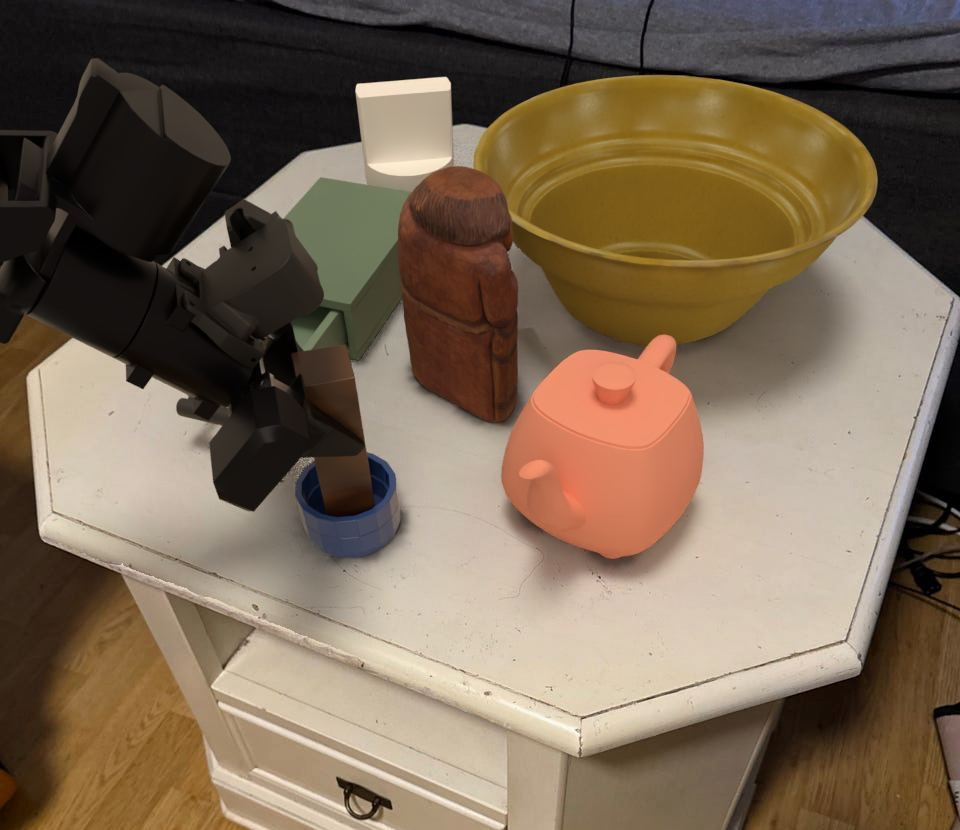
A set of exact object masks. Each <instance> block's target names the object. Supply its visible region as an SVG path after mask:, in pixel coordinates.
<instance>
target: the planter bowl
mask: <svg viewBox="0 0 960 830" xmlns="http://www.w3.org/2000/svg"><path fill="white" fill-rule="evenodd" d="M472 162H473V163H472V164H473V169H476V170H479V171H481V172H483V173H485V174H487V175H488V176H490V177H491V178H492V179H493V180H495V181H496V182H497V183H498V184H499V185H500V187H501V188H502V190H503V193H504V194H505V197H506V201H507V206H508V211H509V213H510V215H511V218H512V234H513V243H514V245H515V246H516V247H517V248H518V249H519V251H520V252H521V253H523V254H524V255H525V256H526V257H527V258H528V259H529V260H531V262H533V263H534V264H536V265H537V266H538V267H540V268H541V270H542V272H543V274H544V276H545V279H546V280H547V283H548V284H549V285H550V287H551V289H552V291H553V292H554V294H555V296H556V298H558V300H559V301H560V303H561V304H562V306H563V308H564V309H565V310H566V311H567V312H568V313H569V314H570V315H571V317H573V318H574V319H575V320H577V321H578V322H579V323H581V324H582V325H584V326H585V327H587V328H589V329H590V330H592V331H594V332H596V333H598V334H600V335H603V336H604V337H607V338H609V339H611V340H614V341H616V342H617V341H618V342H621V343H625V344H629V345H633V346H639V347H647V345H648V344H649V343H650V342H651V341H652V340H653V339H654V338H655V337H657V336H659V335H669V336H671V337H673V338H674V339H675V341H676V345H677V346H679V345H684V344H688V343H693V342H696V341H700V340H704V339H706V338H711V337H712V336H714V335H716V334H718V333H720V332H722V331H724V330H726V329H727V328H729V327H730V326H731V325H733V324H735V322H737V321H738V320H739V319H740V318H741V317H743V316H744V315H745V314H746V313H747V312H748V311H749V310H751V309H752V308H753V307H754V306H755V305H756V304H757V303H758V302H759V301H760V300H761V299H762V298H763V296H765V295H766V293H767V292H769V290H770V289H772V288H775V287H777V286H779V285H781V284H783V283H785V282H788V281H790V280H791V279H793V278H795V277H796V276H798V275H800V274H801V273H802V272H804V271H805V270H806V269H808V268H809V267H810V266H811V265H812V264H814V263H815V262H816V261H817V260H818V259H819V258H820V257H821V256H822V255H823V254H824V252H826V250H828V248H829V247H830V246H831V245H832V244H833V243H834V241H835V240H836V239H837V238H838V237H839V236H840V235H842V234H844V233H845V232H846V231H848V230H849V229H850V228H852V227H854V226H855V224H856V223H858V222H859V221H860V220H861V218H862V217H864V215H865V214H866V213H867V211H868V210H869V209H870V208H871V206H872V204H873V201H874V199H875V197H876V194H877V190H878V185H879V184H878V172H877V167H876V164H875V161H874V159H873V157H872V155H871V153H870V152H869V150H868V149H867V147H866V146H865V145H864V143H863V142H862V141H861V140H860V139H859V138H858V137H857V136H856V135H855V134H854V133H853V132H852V131H851V130H849V129H848V128H847V127H846V126H845V125H843V124H842V123H840V122H839V121H837V120H835V118H833V117H831V116H829V115H828V114H827V113H824V112H823V111H821V110H819V109H817V108H815V107H813V106H811V105H809V104H806V103H805V102H802V101H799V100H797V99H794V98H792V97H789V96H787V95H784V94H781V93H778V92H775V91H773V90H768V89H765V88H762V87H761V88H760V87H757V86H753V85H750V84H744V83H739V82H734V81H729V80H723V79H717V78H710V77H701V76H690V75H676V74H675V75H673V74H671V75H670V74H650V75H649V74H648V75H643V74H642V75H641V74H640V75H625V76H616V77H607V78H599V79H593V80H592V79H591V80H586V81H582V82H577V83H573V84H569V85H564V86H561V87H558V88H555V89H551V90H549V91H546V92H543V93H540V94H538V95H535V96H533V97H530V98H529V99H527V100H524V101H523V102H520V103H519V104H517V105H515V106H513V107H511V108H510V109H508V110H507V111H505V112H504V113H503V114H500V116H499V117H497V118H496V119H495V120H494V121H493V122H492V123H490V125H489V126H488V127H487V128H486V129H485V131H483V133H482V135H481V137H480V138H479V140H478V142H477V144H476V147H475V149H474V154H473V161H472Z"/></svg>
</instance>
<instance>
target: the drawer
mask: <svg viewBox="0 0 960 830" xmlns="http://www.w3.org/2000/svg"><path fill="white" fill-rule="evenodd" d="M292 325H293V330H294V335H295V339H296V341H297V343H298V345H299V346H300V347H301V348H302V349H303V350H304V351H307V350H314V349H320V348H326V347H332V346H338V345H344V344H346V342H347V341H348V336H347V330H346V323H345V317H344V311H342V310H337V309H332V308H327V307H322V306H319V307H318V308H317V309H316V310H314V311H313V312H312V313H310V314H308V315H307V316H302V315H301V316H299V317H297V318H296V319H294V320H292ZM187 397H188V398H185V397H180V398H179V399H178V400H177V402H176V406H175V409H176V414H177V415H179V417H184V418H188V419H191V420H196V421H201V422H203V423H204V422H205V423H209V424H214V425H217V426H221V427H222V426H223V424H224V423H225V422H226V421H227V419H228V418H229V411H228V407H226V408H224V407H222V406H220V407H219V408H218V409H217V411H216V412H215V413H214V415H213V416H212V417H211V419H210V420H209V421H208V420H206V419H204V418H201V417H199V416H197V415H195V414H193V404H192V397H191V396H189V395H187Z"/></svg>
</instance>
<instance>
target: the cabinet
mask: <svg viewBox="0 0 960 830" xmlns="http://www.w3.org/2000/svg"><path fill="white" fill-rule="evenodd" d="M411 193H412V192H408V191H402V190H396V189H390V188H384V187H377V186H371V185H367V184H366V183H365V184H364V183H358V182H352V181H346V180H341V179H334V178H328V177H322V176H320V177H319V178H318V179H317V181H316V182H314V184H313V185H312V186H311V187H310V188H309V189H308V190H307V191H306V193H304V195H303V196H302V197H301V198H300V199H299V200H298V202H297V203H295V205H294V206H293V207H292V208H291V209H290V211H288V213H287V214H286V215H285V216H284V217H282V219H288V220H290V221H291V222H292V224H293V227H294V231H295V235H296V237H297V238H298V239H299V241H300V242H301V244H302V245H303V246H304V248H305V249H306V250H307V252H308V253H309V255H310V256H311V257H312V259H313V260H314V261H315V263H316V264H317V267H318V270H317V272H318V276H319V280H320V284H321V286H322V288H323V291H324V298H323V301H322V303H321V304H320V305H319V306H322V307H327V308H332V309H337V310H342V311H344V317H345V323H346V330H347V336H348V341H347V342H346V346H347V350H348V354H349V357H350V360H354V361H360V360H361V358H362V357H363V356H364V354H365V353H366V351H367V350H368V348H369V347H370V345H371V344H372V343H373V341H374V340H375V338H376V336H377V335H378V334H379V332H380V331H381V329H382V328H383V326H384V325H385V324H386V322H387V320H388V319H389V317H390V316H391V315H392V313H393V312H394V310H395V309H396V307H397V306H398V304H399V303H400V301H401V300H402V291H401V281H400V279H401V276H400V274H399V265H398V224H399V218H400V213H401V210H402V207H403V205H404V203H405V201H406V199H407V198H408V196H409V195H410V194H411Z"/></svg>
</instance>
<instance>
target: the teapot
mask: <svg viewBox="0 0 960 830" xmlns="http://www.w3.org/2000/svg"><path fill="white" fill-rule="evenodd" d="M677 347H678V345H676V341H675V339H674V338H673V337H671V336H669V335H659V336H657V337H655V338H654V339H653V340H652V341H651V342H650V343H649V344H648V345H647V346H645V348H644V349H643V351H642V352H641V354H640V355H639V357H638V358H634V357H630V356H628V355H624V354H619V353H616V352H611V351H607V350H600V349H583V350H578V351H576V352H574V353H572V354H570V355H569V356H567V357H566V358H565V359H563V360H562V361H561V362H559V364H558V365H556V366H555V367H554V369H553V370H551V371H550V372H549V373H548V375H547V376H546V377H545V378H544V379H543V380H542V381H541V382H540V383H539V384H538V386H537V387H536V389H535V390H534V391H533V393H532V395H531V396H530V397H529V399H528V400H527V402H526V403H525V404H524V407H523V409H522V411H521V412H520V414H519V416H518V418H517V419H516V421H515V423H514V425H513V428H512V430H511V432H510V434H509V437H508V440H507V443H506V446H505V450H504V454H503V459H502V465H501V485H502V489H503V490H504V493H505V495H506V496H507V498H508V499H509V501H510V503H511V504H512V505H513V506H514V508H515V509H516V510H518V511H519V512H520V514H522V516H524V517H525V518H526V519H528V521H530V522H531V523H532V524H534V525H535V526H537V527H538V528H539V529H541V530H543V531H544V532H545V533H547V534H548V535H550V536H552V537H553V538H555V539H558V540H559V541H562V542H564V543H567V544H569V545H572V546H574V547H577V548H581V549H583V550H587V551H590V552H594V553H598V554H599V555H600V556H602V557H604V558H606V559H613V560H615V559H620V558H622V557H630V556H634V555H638V554H640V553H642V552H643V551H645V550H647V549H649V548H650V547H652V546H653V545H654V544H656V542H657V541H659V540H660V539H661V538H662V537H663V536H665V534H666V533H667V532H668V531H669V530H670V529H671V528H672V527H673V526H674V525H675V524H676V522H677V521H679V519H680V518H681V516H682V515H683V514H684V512H685V510H686V509H687V507H688V506H689V504H690V503H691V501H692V499H693V497H694V495H696V491H697V490H698V486H699V484H700V482H701V478H702V474H703V466H704V465H703V464H704V455H705V454H704V450H705V446H704V434H703V430H702V425H701V421H700V416H699V414H698V410H697V406H696V403H695V400H694V397H693V395H692V392H691V391H690V389H689V387H687V385H685V383H684V382H682V381H681V380H679V379H677V378H676V377H675V376H673V375H671V372H672V369H673V365H674V361H675V358H676V354H677Z"/></svg>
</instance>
